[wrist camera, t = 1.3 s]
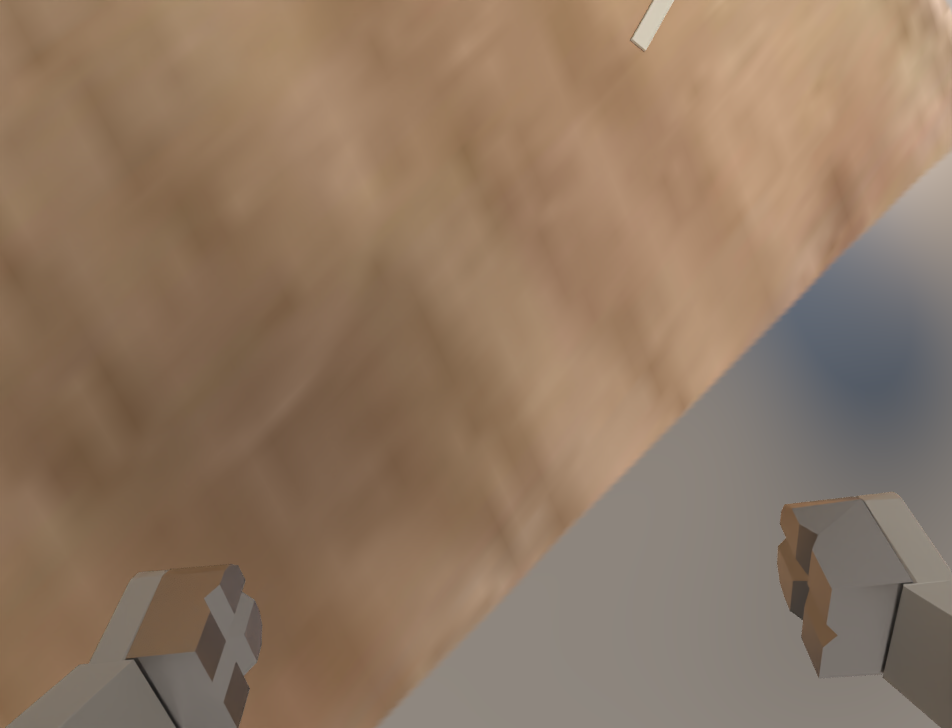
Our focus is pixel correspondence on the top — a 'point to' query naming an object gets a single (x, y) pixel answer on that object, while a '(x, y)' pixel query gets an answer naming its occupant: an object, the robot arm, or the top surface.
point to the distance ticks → (650, 23)
